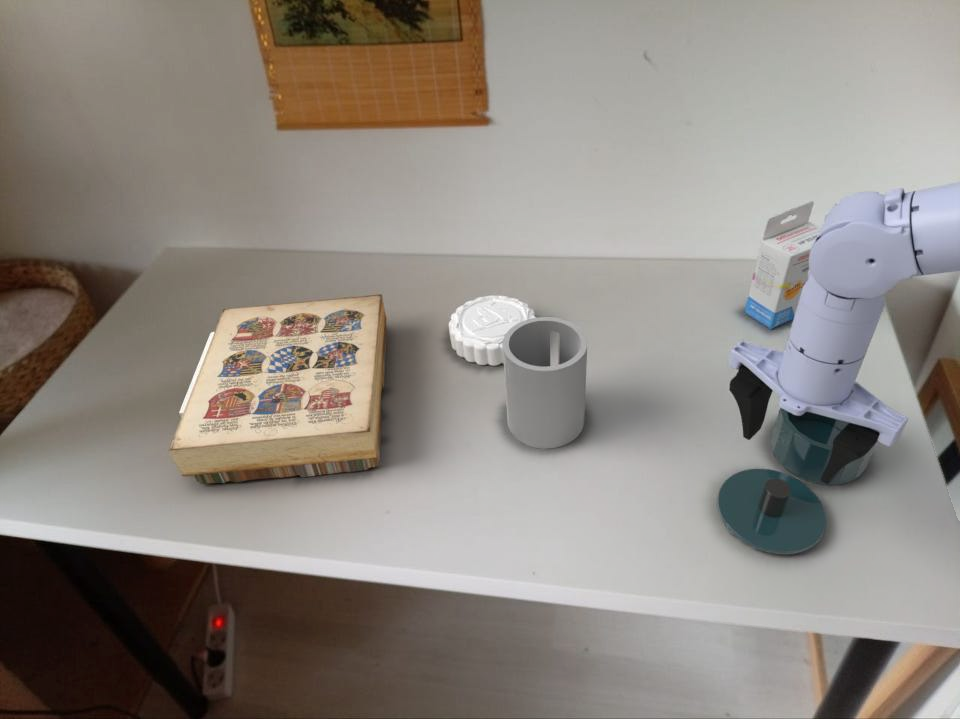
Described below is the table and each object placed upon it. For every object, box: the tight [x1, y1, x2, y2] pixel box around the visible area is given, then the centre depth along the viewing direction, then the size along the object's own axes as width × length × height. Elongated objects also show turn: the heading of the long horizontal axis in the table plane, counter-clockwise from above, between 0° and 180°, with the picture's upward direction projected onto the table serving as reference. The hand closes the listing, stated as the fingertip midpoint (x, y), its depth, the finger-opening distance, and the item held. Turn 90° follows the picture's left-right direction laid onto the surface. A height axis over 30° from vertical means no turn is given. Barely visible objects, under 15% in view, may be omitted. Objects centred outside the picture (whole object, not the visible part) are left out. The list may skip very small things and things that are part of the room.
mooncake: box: [448, 294, 537, 367], centre depth 93 cm, size 12×12×4 cm
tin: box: [770, 407, 879, 486], centre depth 73 cm, size 10×10×5 cm
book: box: [168, 293, 388, 485], centre depth 86 cm, size 25×6×28 cm
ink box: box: [744, 200, 821, 330], centre depth 89 cm, size 8×5×15 cm, turn 119°
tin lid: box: [716, 468, 827, 555], centre depth 68 cm, size 10×10×4 cm
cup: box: [503, 316, 588, 450], centre depth 78 cm, size 9×9×12 cm
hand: (789, 454), depth 63 cm, fingers open, 7 cm apart
